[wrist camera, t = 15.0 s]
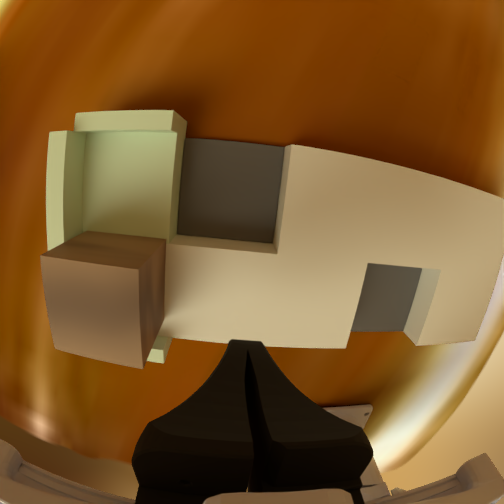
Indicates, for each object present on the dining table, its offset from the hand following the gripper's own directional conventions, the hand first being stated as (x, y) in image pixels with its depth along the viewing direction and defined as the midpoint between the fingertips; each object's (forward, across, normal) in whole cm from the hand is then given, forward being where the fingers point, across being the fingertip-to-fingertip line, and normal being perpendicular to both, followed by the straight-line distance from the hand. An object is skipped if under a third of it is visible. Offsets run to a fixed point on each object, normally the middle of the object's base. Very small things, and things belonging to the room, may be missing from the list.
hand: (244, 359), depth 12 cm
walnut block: (+5, +7, -1) cm, 9 cm away
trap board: (+8, -5, -3) cm, 10 cm away
